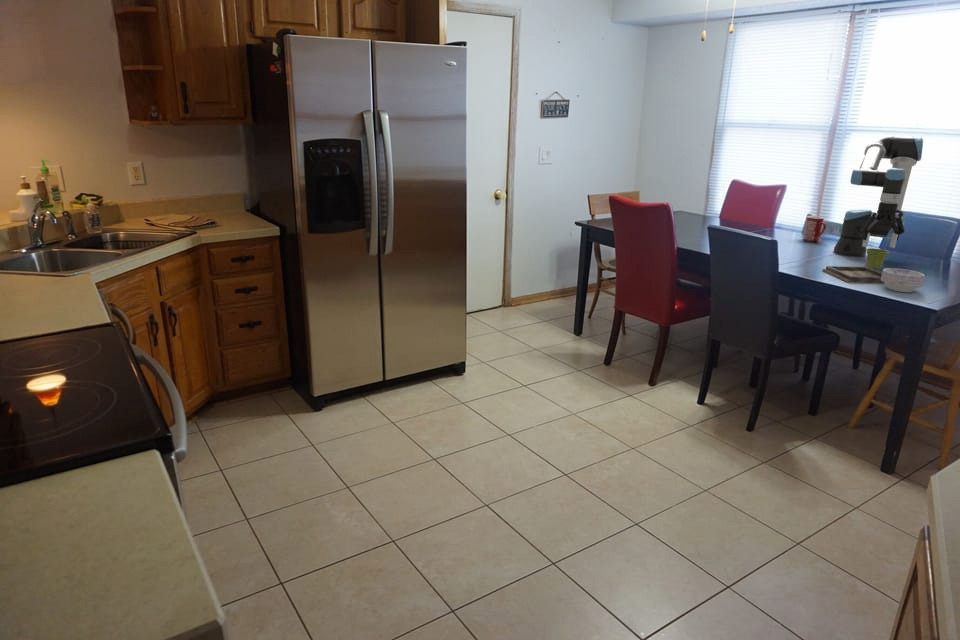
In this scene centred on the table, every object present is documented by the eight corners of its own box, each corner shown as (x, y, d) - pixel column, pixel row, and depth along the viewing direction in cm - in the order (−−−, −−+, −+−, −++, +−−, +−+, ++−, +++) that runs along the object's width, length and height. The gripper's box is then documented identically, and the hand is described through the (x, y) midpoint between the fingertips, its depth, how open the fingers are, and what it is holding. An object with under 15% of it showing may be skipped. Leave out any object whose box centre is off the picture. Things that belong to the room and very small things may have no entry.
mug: (798, 239, 371) (803, 215, 366) (812, 238, 373) (816, 215, 368) (814, 243, 359) (819, 219, 355) (827, 243, 361) (832, 219, 357)
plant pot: (858, 264, 312) (862, 247, 309) (879, 266, 311) (883, 248, 308) (867, 269, 303) (871, 251, 300) (888, 270, 302) (892, 252, 299)
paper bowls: (904, 284, 278) (908, 267, 276) (929, 295, 264) (934, 276, 261) (870, 284, 278) (875, 266, 275) (893, 294, 263) (898, 276, 261)
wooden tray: (867, 271, 299) (868, 266, 298) (895, 283, 280) (896, 277, 280) (822, 270, 298) (823, 265, 297) (846, 282, 279) (848, 276, 279)
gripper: (868, 202, 293) (857, 247, 299) (920, 204, 294) (908, 249, 300) (858, 200, 300) (848, 244, 306) (909, 202, 301) (898, 246, 308)
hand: (878, 247), depth 303 cm, fingers open, 13 cm apart
